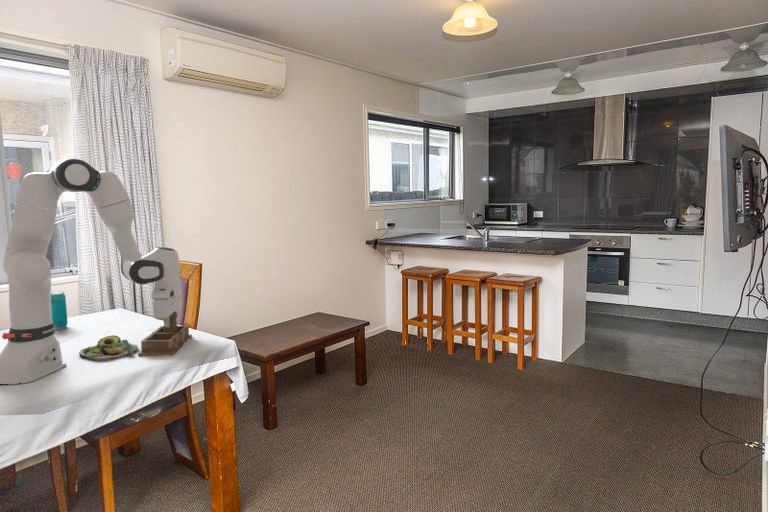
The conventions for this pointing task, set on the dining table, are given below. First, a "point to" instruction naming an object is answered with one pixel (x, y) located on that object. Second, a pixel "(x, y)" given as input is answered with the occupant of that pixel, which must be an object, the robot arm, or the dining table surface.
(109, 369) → the dining table surface
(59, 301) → the beverage can
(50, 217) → the robot arm
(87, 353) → the salad plate
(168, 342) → the walnut rack
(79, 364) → the dining table surface
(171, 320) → the cork
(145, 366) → the dining table surface
